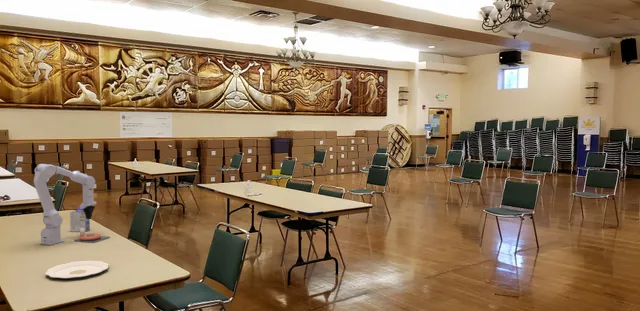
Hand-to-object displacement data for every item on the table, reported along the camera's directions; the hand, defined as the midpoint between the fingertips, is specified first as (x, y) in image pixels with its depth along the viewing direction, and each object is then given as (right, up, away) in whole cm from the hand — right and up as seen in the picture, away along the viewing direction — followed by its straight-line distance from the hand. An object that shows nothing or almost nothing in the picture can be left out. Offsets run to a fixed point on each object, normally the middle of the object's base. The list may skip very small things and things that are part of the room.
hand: (88, 218), depth 284 cm
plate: (+29, -15, -70) cm, 77 cm away
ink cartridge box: (-11, -9, +12) cm, 19 cm away
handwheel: (+6, -9, -11) cm, 15 cm away
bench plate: (+7, -11, -10) cm, 16 cm away
